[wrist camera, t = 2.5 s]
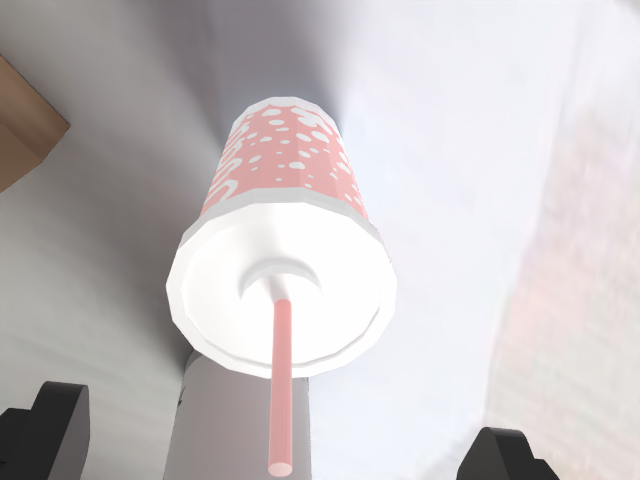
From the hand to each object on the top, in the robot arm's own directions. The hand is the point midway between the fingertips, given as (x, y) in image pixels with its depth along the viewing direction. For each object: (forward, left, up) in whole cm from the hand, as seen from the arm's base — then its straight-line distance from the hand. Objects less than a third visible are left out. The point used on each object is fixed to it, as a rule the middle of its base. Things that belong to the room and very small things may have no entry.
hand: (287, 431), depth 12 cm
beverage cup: (0, 0, -13) cm, 13 cm away
